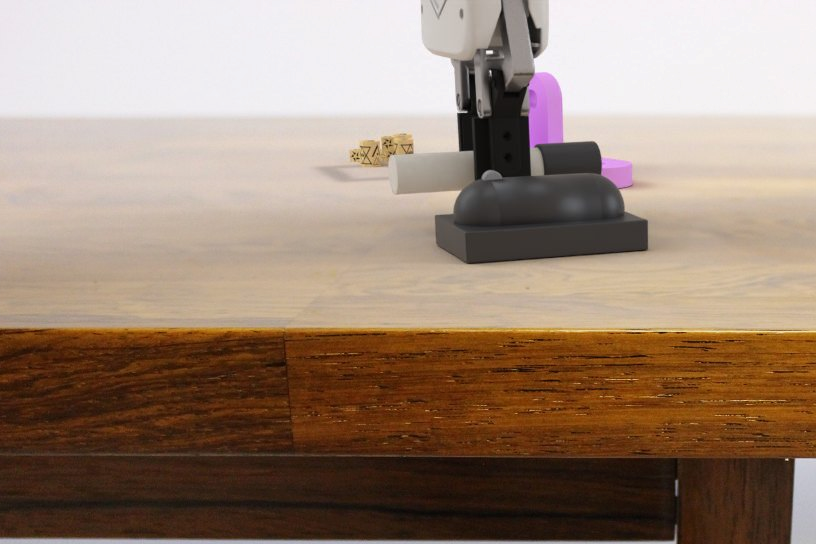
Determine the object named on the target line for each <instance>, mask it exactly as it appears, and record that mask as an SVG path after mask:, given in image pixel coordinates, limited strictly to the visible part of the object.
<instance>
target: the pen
mask: <svg viewBox="0 0 816 544" xmlns="http://www.w3.org/2000/svg"><path fill="white" fill-rule="evenodd" d="M601 157H602V153H601V149H600V147H599V145H598V143H597V142H596V141H594V140H588V141H587V140H586V141H585V140H584V141H570V142H569V141H567V142H566V141H565V142H563V143H546V144H536V145H535V146H534V148H530V160H531V176H539V175H558V174H577V173H594V174H599V175H601V172H602V158H601ZM387 167H388V169H387V170H388V179H389V185H390V189H391V191H392V193H393V194H394V195H411V194H412V195H413V194H426V193H427V194H429V193H441V192H442V193H445V192H461V191H462V190H463V189H464V188H465V187H466V186H467V185H469V184H470V183H472V182H474V181H475V173H474V154H473V151H459V150H458V151H445V152H444V151H442V152H423V153H414V154H402V155H391V156H390V158H389V162H388V166H387Z"/></svg>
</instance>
